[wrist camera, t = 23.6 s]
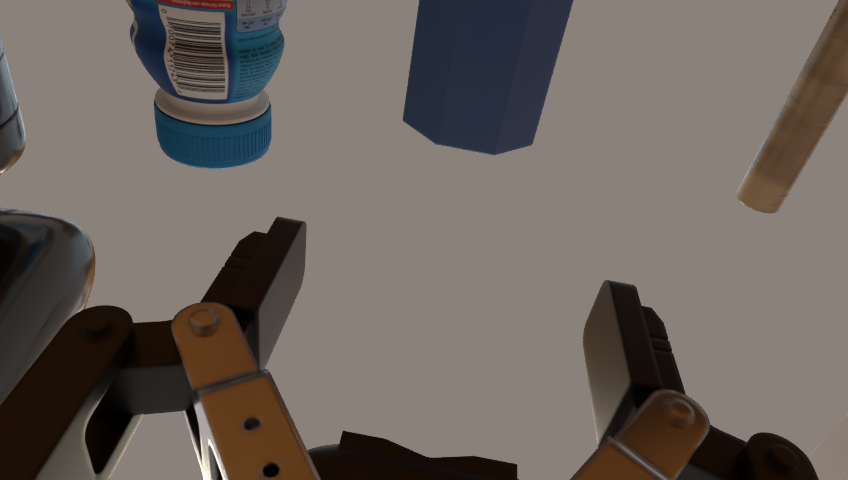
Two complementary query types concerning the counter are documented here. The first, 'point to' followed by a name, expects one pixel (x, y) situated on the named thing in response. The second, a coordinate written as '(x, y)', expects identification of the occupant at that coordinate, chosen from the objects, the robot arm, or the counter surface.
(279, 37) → the beverage bottle
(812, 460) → the white square vase
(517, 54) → the sleeve
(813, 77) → the dowel stand
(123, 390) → the robot arm
